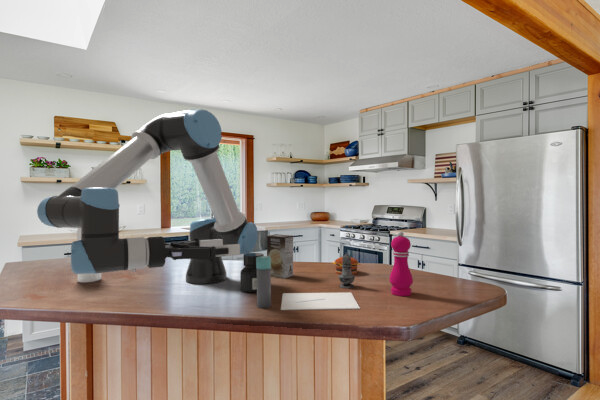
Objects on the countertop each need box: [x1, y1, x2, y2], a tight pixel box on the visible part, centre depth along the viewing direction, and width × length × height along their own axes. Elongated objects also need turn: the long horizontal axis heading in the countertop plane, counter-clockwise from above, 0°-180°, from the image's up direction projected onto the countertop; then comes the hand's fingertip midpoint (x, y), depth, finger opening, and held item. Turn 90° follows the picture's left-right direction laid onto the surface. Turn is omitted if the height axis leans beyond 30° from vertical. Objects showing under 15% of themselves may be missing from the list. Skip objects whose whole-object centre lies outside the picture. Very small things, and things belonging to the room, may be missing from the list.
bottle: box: [76, 228, 102, 283], centre depth 137 cm, size 8×8×30 cm
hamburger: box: [331, 256, 362, 276], centre depth 146 cm, size 9×10×7 cm
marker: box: [256, 255, 272, 309], centre depth 103 cm, size 4×4×14 cm
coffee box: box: [266, 233, 294, 279], centre depth 142 cm, size 9×6×16 cm
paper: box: [280, 292, 361, 311], centre depth 107 cm, size 22×16×1 cm
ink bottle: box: [240, 252, 265, 294], centre depth 121 cm, size 10×9×12 cm
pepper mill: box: [389, 231, 414, 297], centre depth 114 cm, size 7×7×20 cm
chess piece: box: [338, 251, 356, 289], centre depth 124 cm, size 6×6×12 cm
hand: (230, 246), depth 97 cm, fingers open, 13 cm apart
